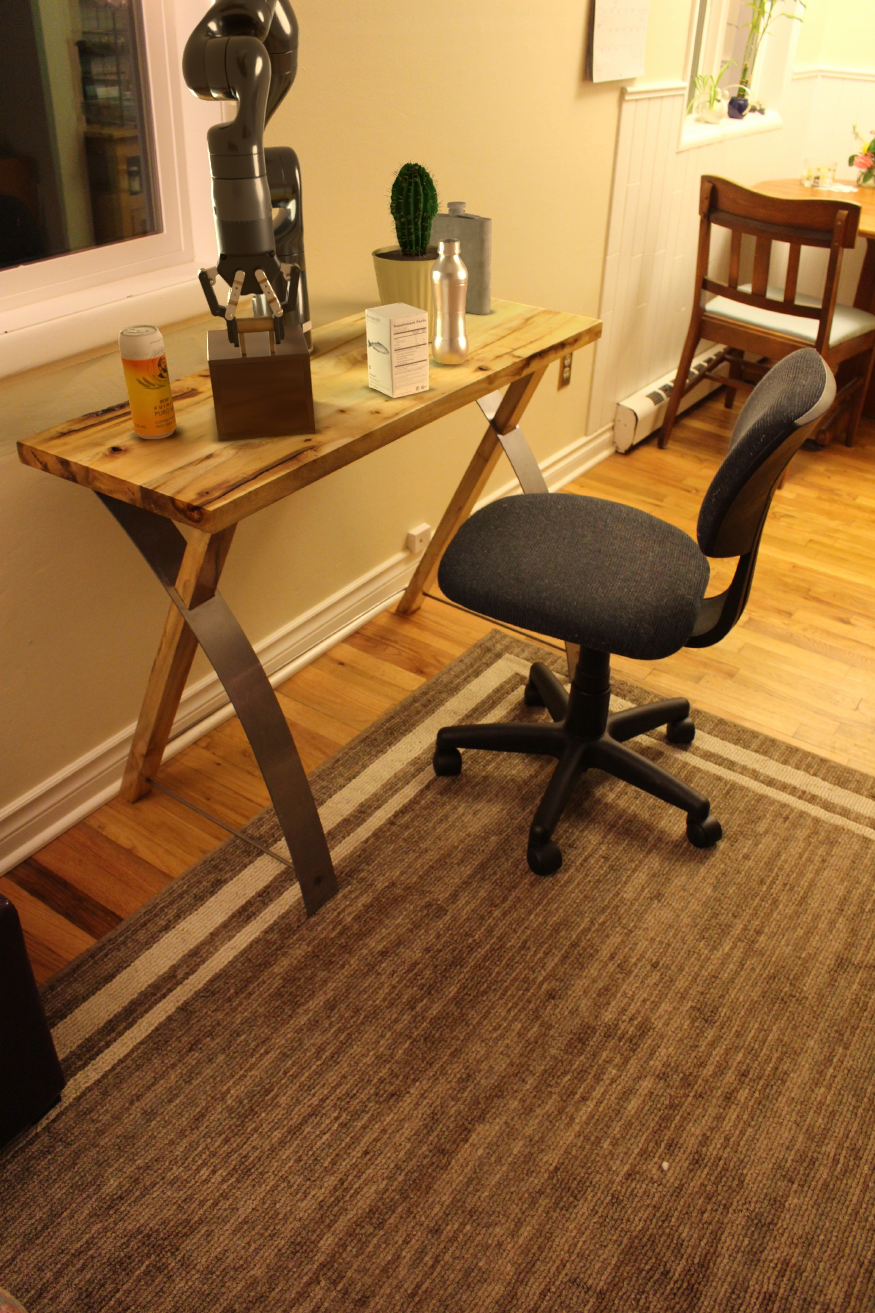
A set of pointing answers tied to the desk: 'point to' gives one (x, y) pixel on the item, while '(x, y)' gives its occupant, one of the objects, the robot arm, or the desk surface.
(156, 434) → the beer can
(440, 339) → the metal water bottle
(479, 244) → the hip flask
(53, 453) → the desk surface
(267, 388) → the chest
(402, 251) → the potted cactus
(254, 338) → the lid
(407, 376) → the white packaging box
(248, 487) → the desk surface
